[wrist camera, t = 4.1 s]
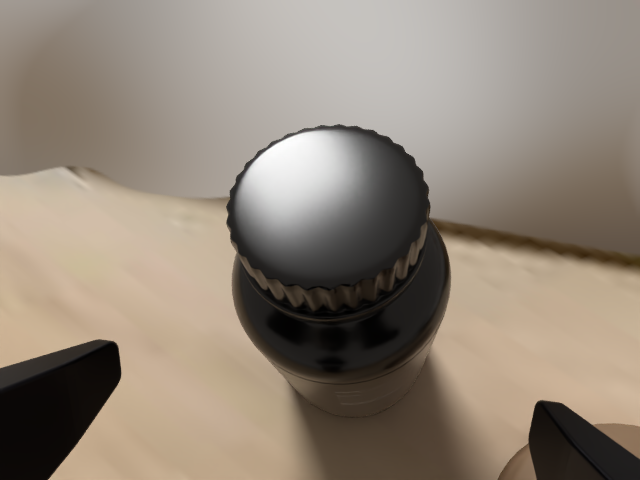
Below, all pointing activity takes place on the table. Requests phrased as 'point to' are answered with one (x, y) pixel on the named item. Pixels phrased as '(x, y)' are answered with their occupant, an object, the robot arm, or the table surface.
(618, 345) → the table surface
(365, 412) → the supplement bottle
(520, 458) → the walnut stand
